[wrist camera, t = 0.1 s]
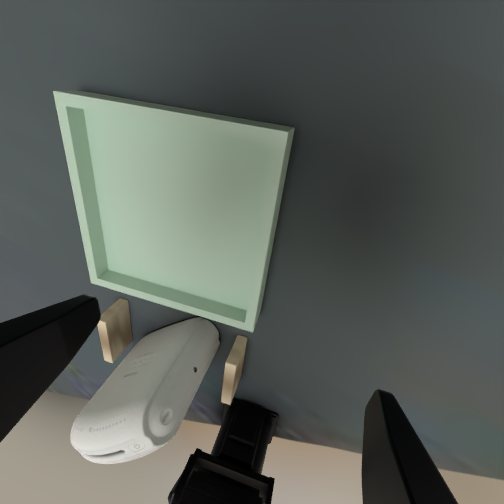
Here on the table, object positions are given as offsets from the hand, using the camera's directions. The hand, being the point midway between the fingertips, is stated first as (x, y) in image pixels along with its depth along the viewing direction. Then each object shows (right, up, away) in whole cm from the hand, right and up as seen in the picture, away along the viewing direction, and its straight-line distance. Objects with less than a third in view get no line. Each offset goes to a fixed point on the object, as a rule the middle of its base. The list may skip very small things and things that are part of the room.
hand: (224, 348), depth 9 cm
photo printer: (-7, -6, +23) cm, 24 cm away
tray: (-5, +6, +15) cm, 17 cm away
